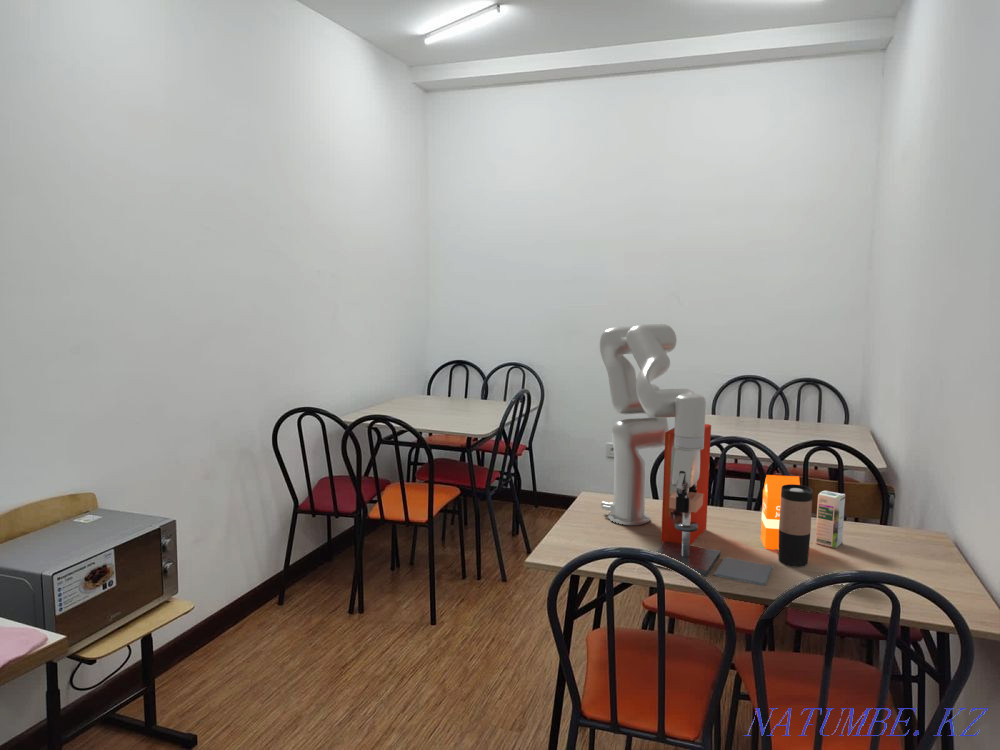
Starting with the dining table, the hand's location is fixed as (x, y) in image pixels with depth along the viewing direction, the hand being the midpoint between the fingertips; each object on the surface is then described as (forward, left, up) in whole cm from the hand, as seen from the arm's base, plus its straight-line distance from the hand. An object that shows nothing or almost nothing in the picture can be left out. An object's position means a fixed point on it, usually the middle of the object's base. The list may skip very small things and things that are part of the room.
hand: (686, 507), depth 185 cm
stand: (0, 0, -15) cm, 15 cm away
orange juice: (+20, +24, -15) cm, 35 cm away
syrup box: (+32, +32, -15) cm, 48 cm away
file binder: (-5, +18, -15) cm, 24 cm away
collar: (0, 0, 0) cm, 0 cm away
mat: (+15, 0, -15) cm, 21 cm away
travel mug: (+25, +13, -15) cm, 32 cm away
